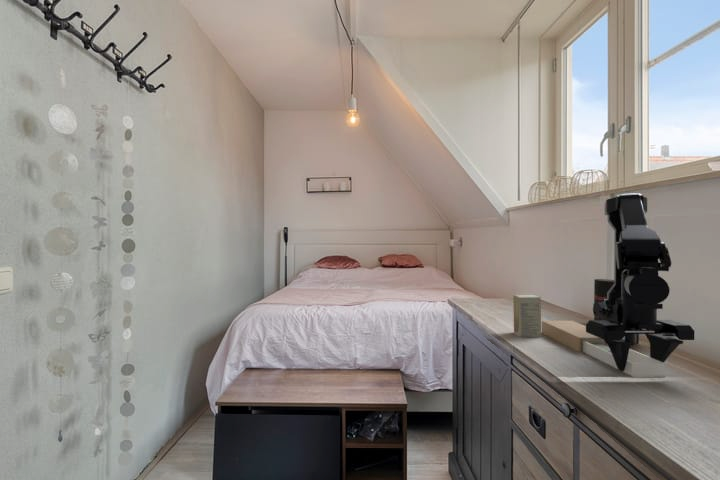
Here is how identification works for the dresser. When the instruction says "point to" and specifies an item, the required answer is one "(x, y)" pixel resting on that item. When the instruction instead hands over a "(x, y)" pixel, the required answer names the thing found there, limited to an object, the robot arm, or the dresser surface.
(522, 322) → the skincare box
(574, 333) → the sleeve
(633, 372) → the tray
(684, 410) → the dresser surface
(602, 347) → the soap bar
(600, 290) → the deodorant
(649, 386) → the dresser surface
